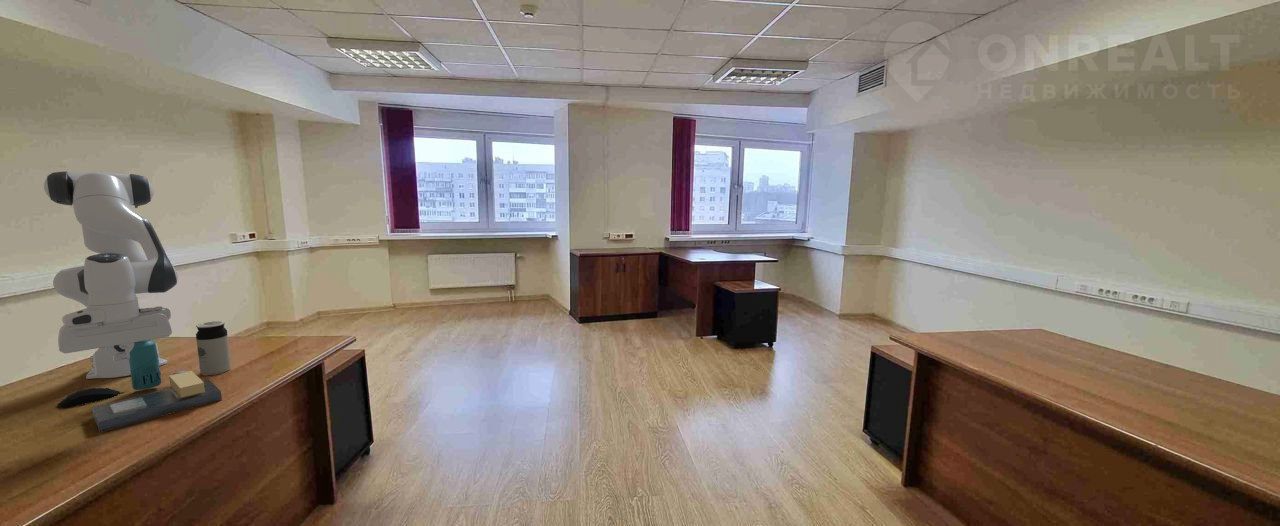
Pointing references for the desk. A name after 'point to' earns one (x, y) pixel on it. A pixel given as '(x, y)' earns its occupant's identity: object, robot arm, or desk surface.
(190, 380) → the beige block
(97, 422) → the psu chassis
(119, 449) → the desk surface
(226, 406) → the desk surface
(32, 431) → the desk surface
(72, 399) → the gaming mouse
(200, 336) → the travel mug
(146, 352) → the beverage bottle
